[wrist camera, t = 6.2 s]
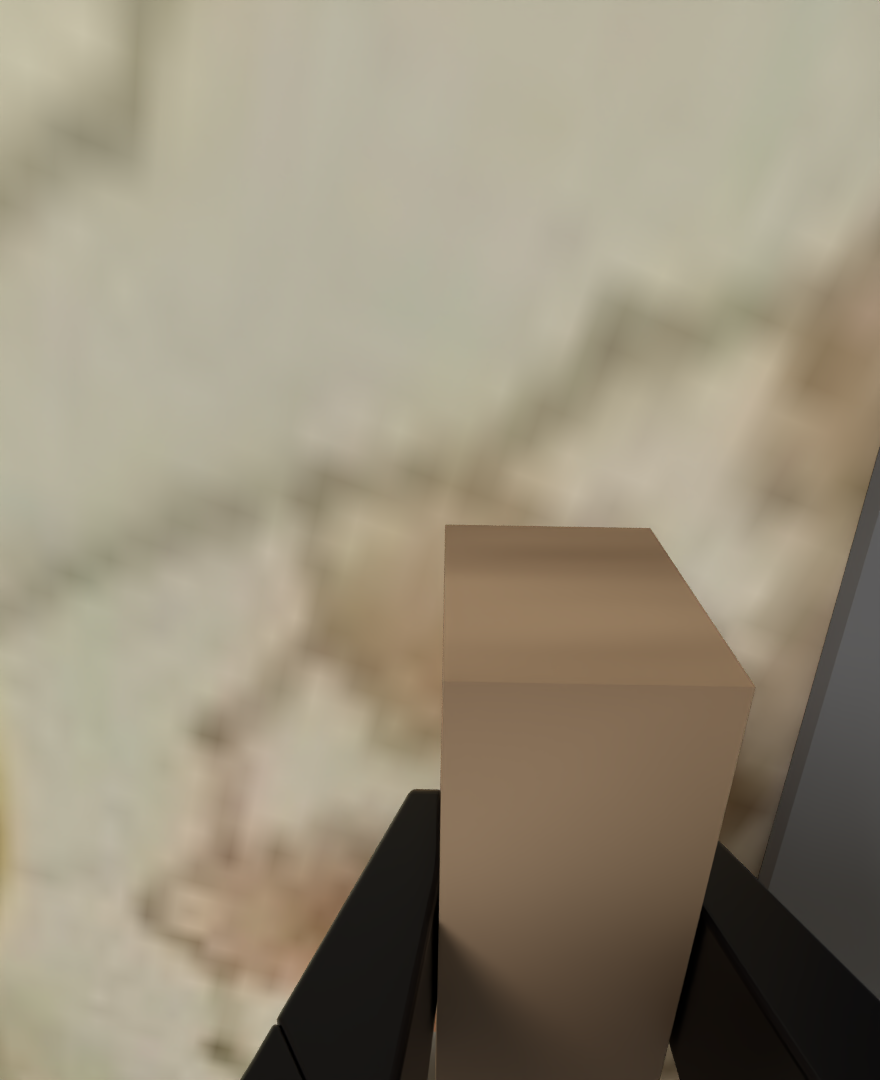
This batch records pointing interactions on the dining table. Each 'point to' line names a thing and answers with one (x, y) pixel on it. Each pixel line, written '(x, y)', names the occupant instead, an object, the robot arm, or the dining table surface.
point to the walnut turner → (574, 799)
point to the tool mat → (839, 775)
